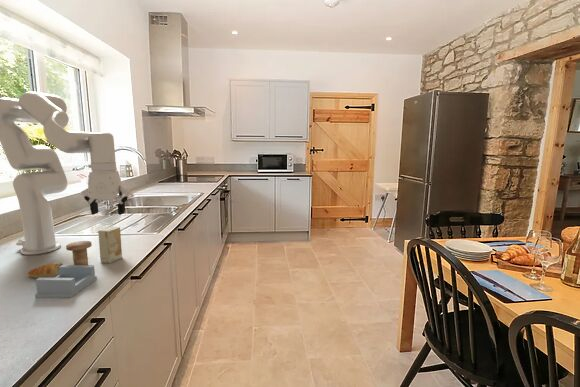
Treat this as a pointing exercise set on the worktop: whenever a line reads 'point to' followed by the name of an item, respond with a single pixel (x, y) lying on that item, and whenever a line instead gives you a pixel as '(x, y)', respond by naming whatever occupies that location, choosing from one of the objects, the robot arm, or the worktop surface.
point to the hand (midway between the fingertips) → (108, 213)
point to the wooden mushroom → (79, 251)
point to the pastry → (45, 271)
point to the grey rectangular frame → (66, 282)
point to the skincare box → (110, 244)
